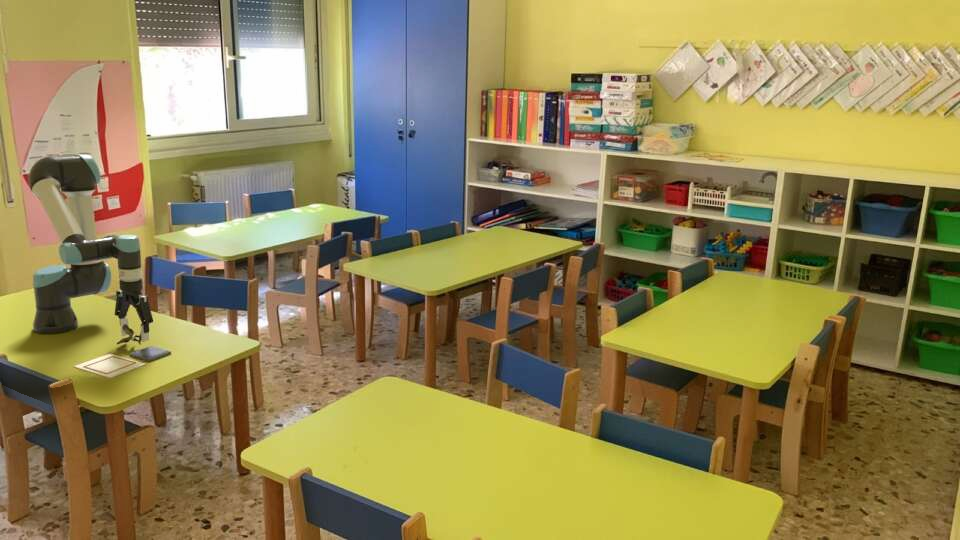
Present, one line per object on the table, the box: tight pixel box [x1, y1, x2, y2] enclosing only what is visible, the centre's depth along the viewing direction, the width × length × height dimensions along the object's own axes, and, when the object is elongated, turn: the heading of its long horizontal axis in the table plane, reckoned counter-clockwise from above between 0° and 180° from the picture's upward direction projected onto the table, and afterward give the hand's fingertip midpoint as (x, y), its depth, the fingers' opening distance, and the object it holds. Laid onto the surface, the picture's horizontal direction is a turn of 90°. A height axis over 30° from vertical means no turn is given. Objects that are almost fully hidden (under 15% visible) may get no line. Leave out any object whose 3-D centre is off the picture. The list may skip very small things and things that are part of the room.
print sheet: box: [73, 353, 147, 379], centre depth 266 cm, size 18×14×1 cm
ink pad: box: [129, 345, 172, 362], centre depth 277 cm, size 10×9×1 cm
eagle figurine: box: [116, 324, 142, 345], centre depth 282 cm, size 8×7×9 cm
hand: (135, 337), depth 285 cm, fingers closed on eagle figurine, 10 cm apart
